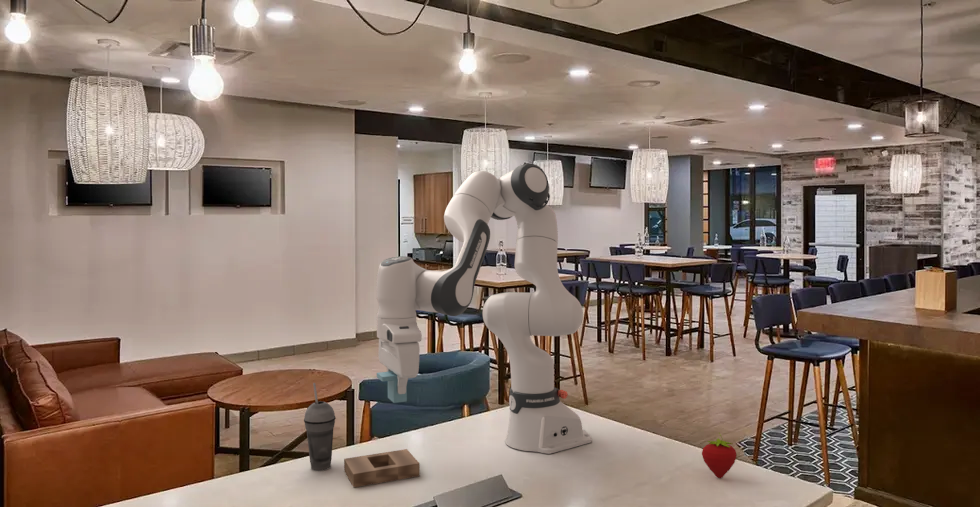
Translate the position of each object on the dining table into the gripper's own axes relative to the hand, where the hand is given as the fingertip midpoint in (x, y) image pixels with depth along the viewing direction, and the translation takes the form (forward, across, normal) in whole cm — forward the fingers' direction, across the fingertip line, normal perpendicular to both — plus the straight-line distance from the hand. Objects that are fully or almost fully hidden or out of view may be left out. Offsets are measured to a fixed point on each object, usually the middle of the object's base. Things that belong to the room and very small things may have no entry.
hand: (397, 390), depth 149 cm
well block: (+20, -3, -3) cm, 20 cm away
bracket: (+2, 0, -1) cm, 2 cm away
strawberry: (+20, +32, +65) cm, 75 cm away
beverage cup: (+20, -13, -15) cm, 28 cm away
